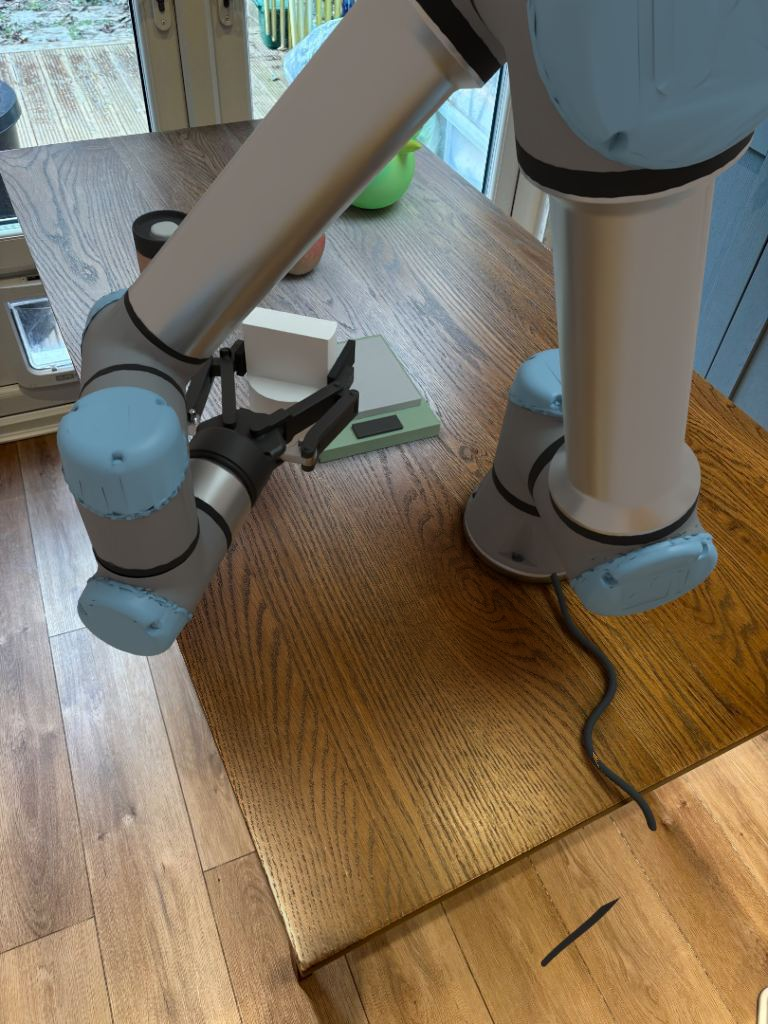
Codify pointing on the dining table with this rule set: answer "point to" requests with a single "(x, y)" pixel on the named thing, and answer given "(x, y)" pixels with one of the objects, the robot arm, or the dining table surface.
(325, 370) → the base with upright slab
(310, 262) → the apple
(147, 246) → the travel mug
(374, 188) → the toy bird
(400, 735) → the dining table surface
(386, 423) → the scale
